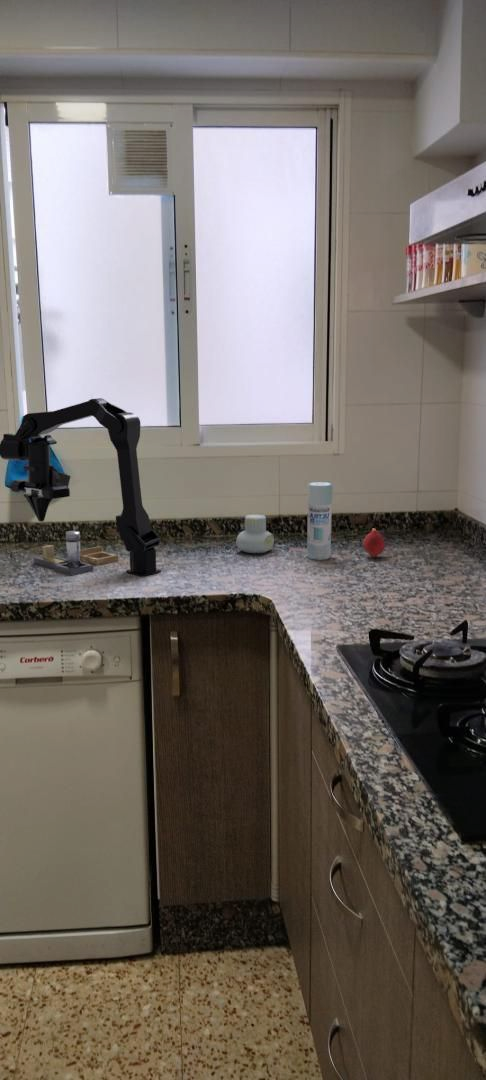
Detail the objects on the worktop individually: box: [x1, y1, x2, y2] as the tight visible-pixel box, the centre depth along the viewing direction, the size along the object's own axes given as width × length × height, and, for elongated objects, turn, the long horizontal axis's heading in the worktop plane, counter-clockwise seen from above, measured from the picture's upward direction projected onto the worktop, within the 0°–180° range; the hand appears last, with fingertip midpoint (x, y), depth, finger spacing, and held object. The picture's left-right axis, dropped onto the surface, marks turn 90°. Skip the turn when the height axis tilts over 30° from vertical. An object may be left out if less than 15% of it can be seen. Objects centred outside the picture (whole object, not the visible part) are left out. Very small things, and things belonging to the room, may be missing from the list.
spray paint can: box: [306, 481, 333, 561], centre depth 235 cm, size 6×6×20 cm
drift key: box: [42, 544, 66, 564], centre depth 227 cm, size 7×2×4 cm, turn 46°
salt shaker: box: [65, 530, 82, 568], centre depth 221 cm, size 4×4×10 cm
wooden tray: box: [80, 545, 119, 566], centre depth 232 cm, size 8×7×3 cm
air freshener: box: [235, 514, 275, 554], centre depth 243 cm, size 11×8×10 cm
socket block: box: [33, 555, 94, 576], centre depth 226 cm, size 18×7×2 cm, turn 46°
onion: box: [362, 528, 386, 558], centre depth 236 cm, size 6×6×8 cm
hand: (41, 521), depth 229 cm, fingers closed
